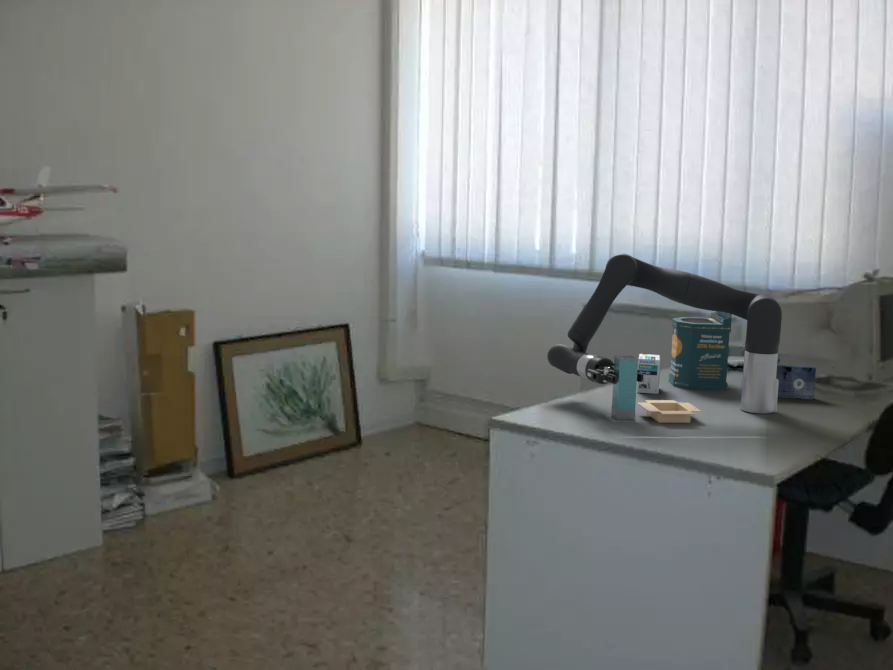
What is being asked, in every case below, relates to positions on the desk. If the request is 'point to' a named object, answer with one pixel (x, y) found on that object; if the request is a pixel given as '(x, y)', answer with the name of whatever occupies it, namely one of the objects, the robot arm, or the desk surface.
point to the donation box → (700, 351)
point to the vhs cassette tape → (796, 381)
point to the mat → (621, 421)
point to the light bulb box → (649, 373)
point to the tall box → (624, 388)
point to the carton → (669, 410)
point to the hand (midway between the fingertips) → (629, 379)
